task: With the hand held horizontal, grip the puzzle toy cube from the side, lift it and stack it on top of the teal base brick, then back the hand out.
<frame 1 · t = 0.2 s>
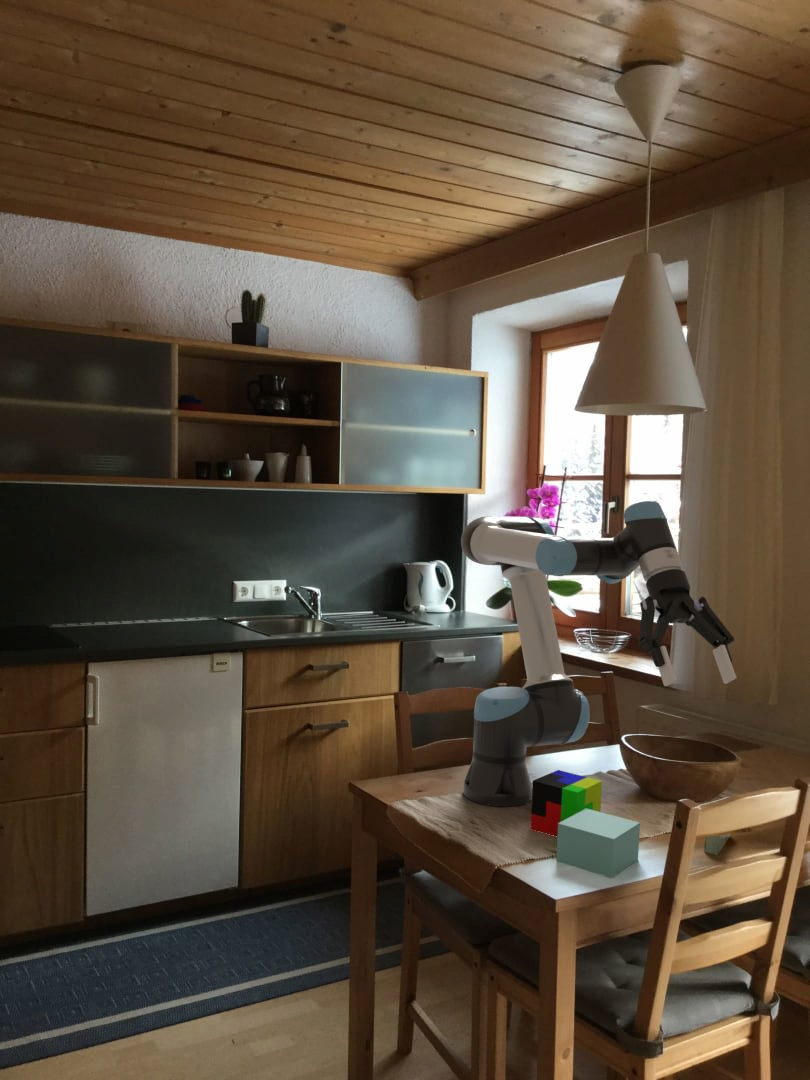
hand: (700, 682, 167), 34 cm above the table, tool tilted 35°, fingers open, 13 cm apart
puzzle toy: (565, 830, 187), on the table
medication box: (717, 846, 182), on the table
base brick: (597, 860, 172), on the table
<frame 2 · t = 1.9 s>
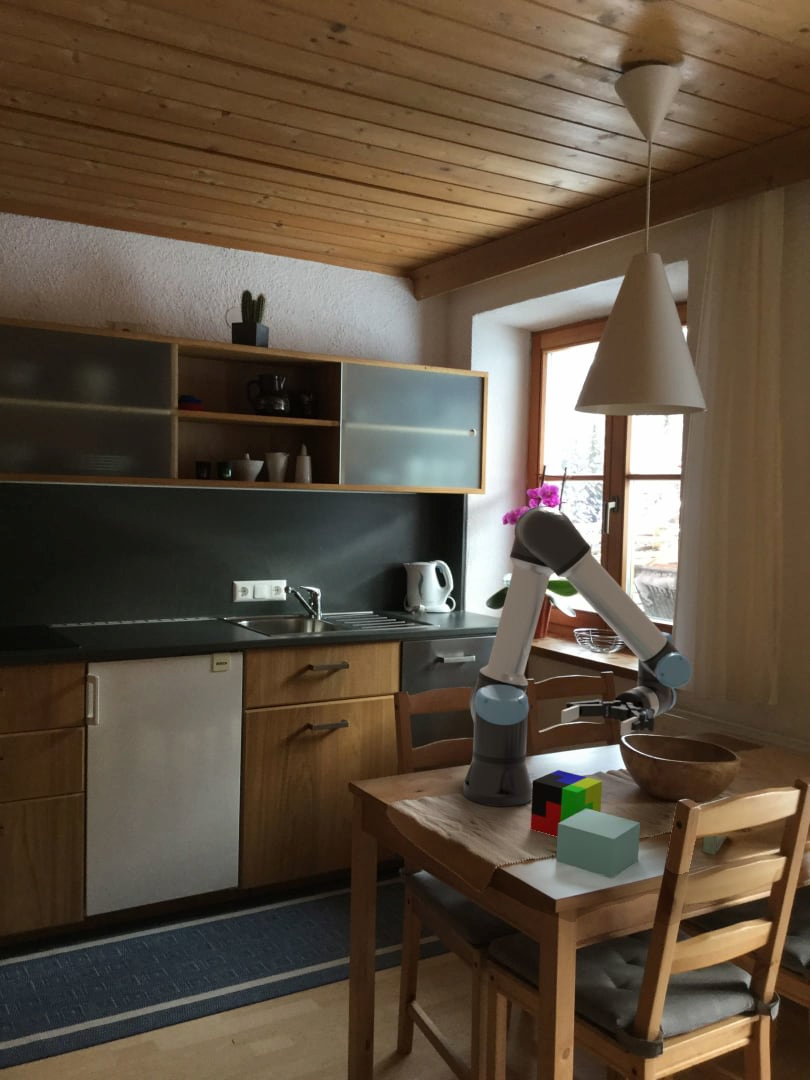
hand: (592, 723, 194), 20 cm above the table, tool horizontal, fingers open, 13 cm apart
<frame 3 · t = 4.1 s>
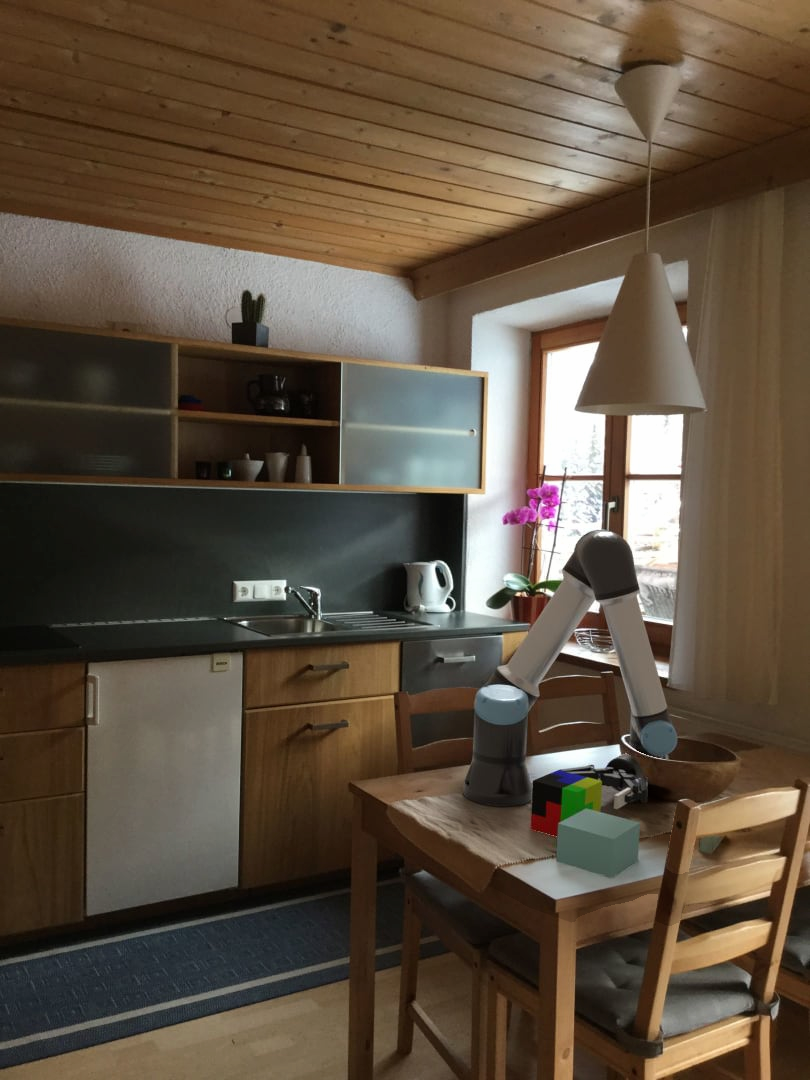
hand: (584, 794, 191), 6 cm above the table, tool horizontal, fingers open, 13 cm apart
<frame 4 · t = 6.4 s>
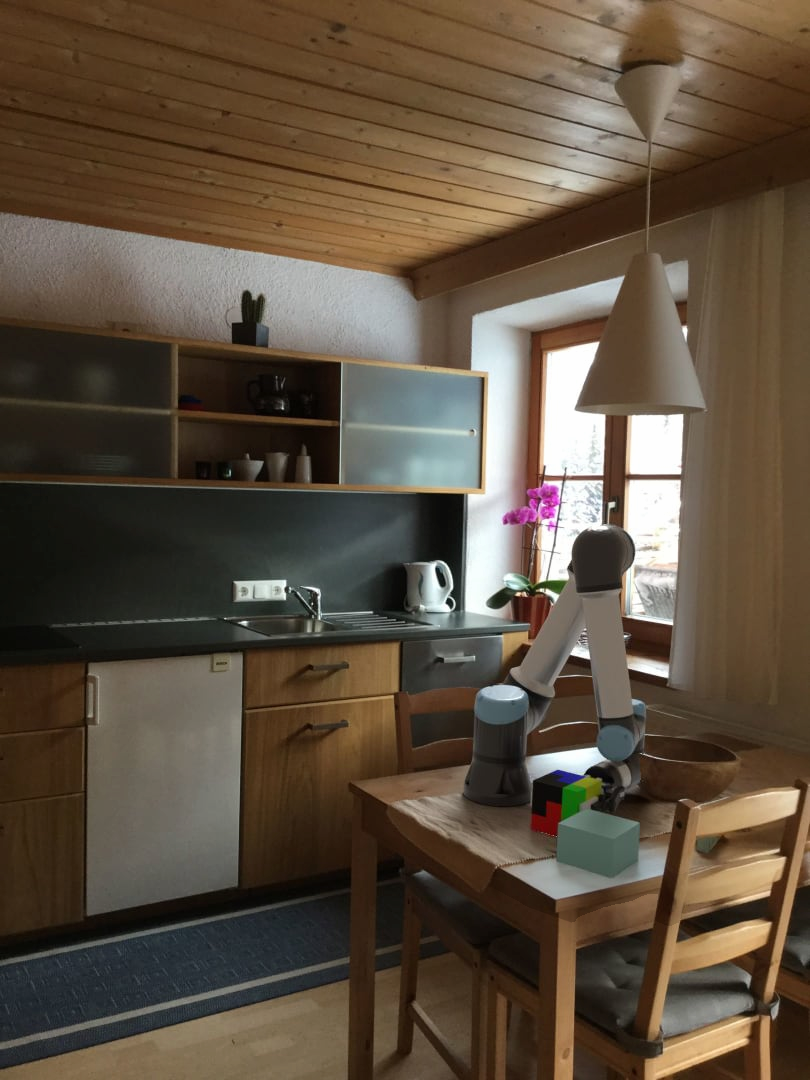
hand: (556, 805, 184), 6 cm above the table, tool horizontal, fingers closed on puzzle toy, 10 cm apart
puzzle toy: (565, 830, 187), on the table, touching gripper
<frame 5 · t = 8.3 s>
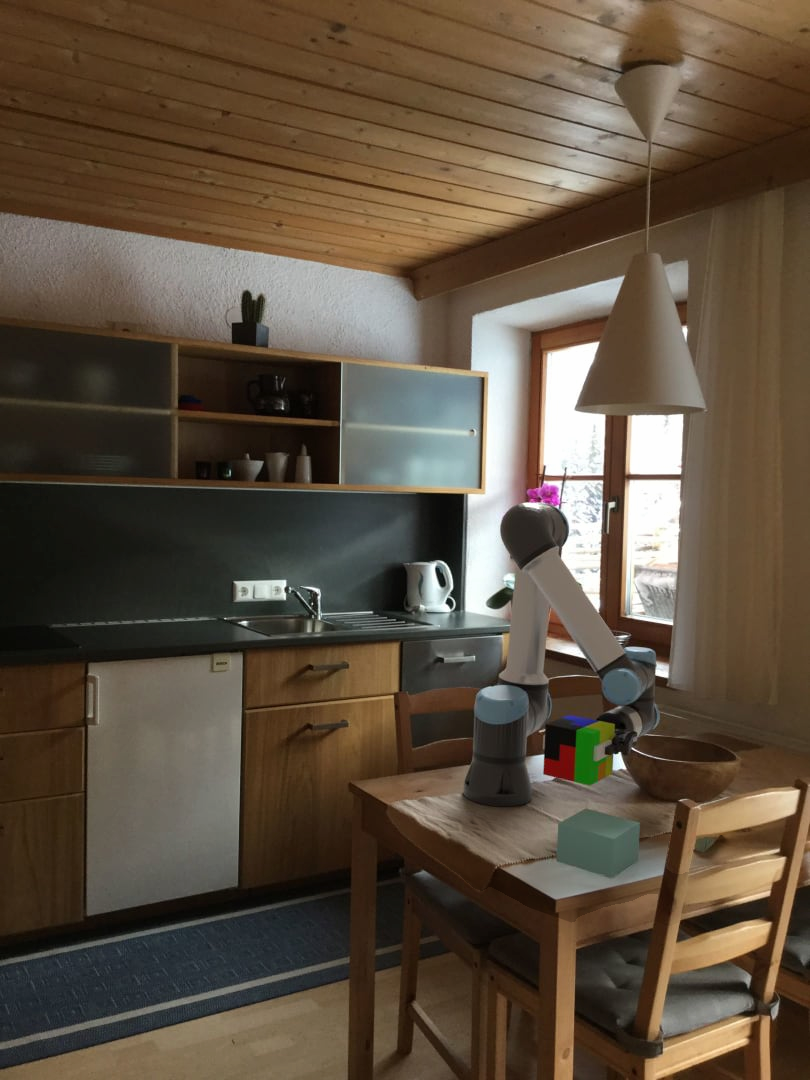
hand: (569, 748, 180), 18 cm above the table, tool horizontal, fingers closed on puzzle toy, 10 cm apart
puzzle toy: (578, 775, 184), point 12 cm above the table, touching gripper
when the fingers open (15 cm above the table, at t = 10.3 s): puzzle toy drops 2 cm, resting on base brick.
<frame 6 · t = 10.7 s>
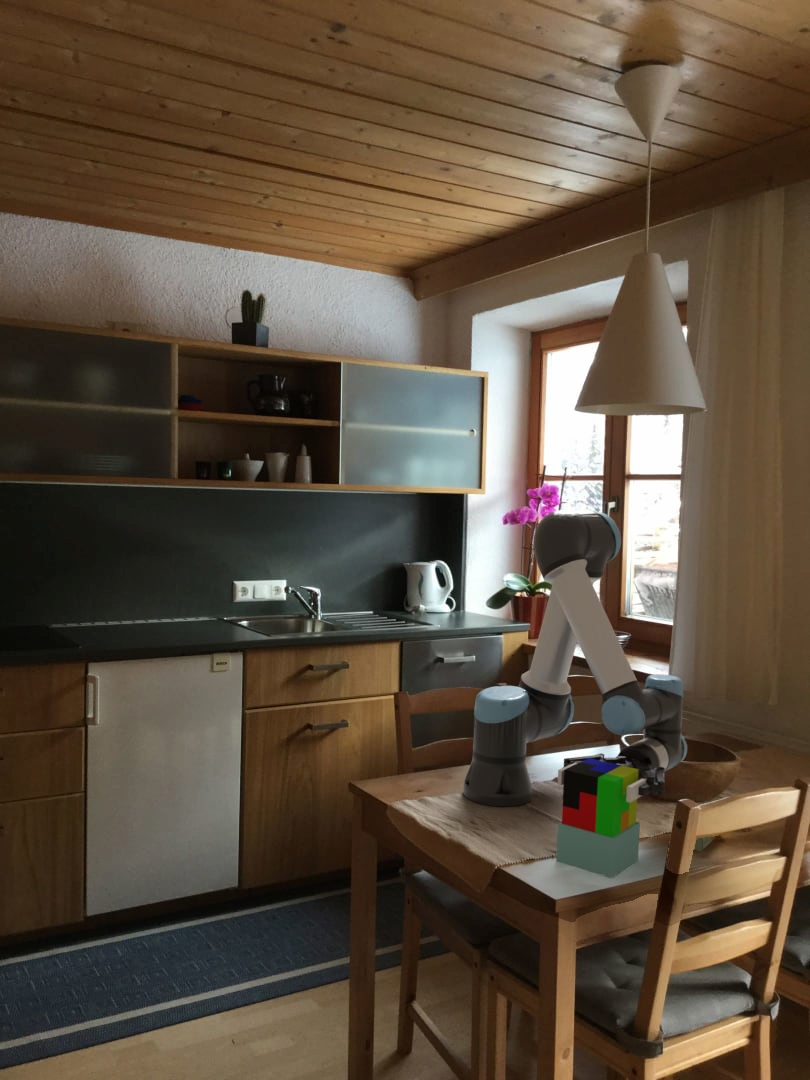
hand: (593, 785, 169), 15 cm above the table, tool horizontal, fingers open, 13 cm apart
puzzle toy: (598, 824, 172), point 7 cm above the table, touching base brick
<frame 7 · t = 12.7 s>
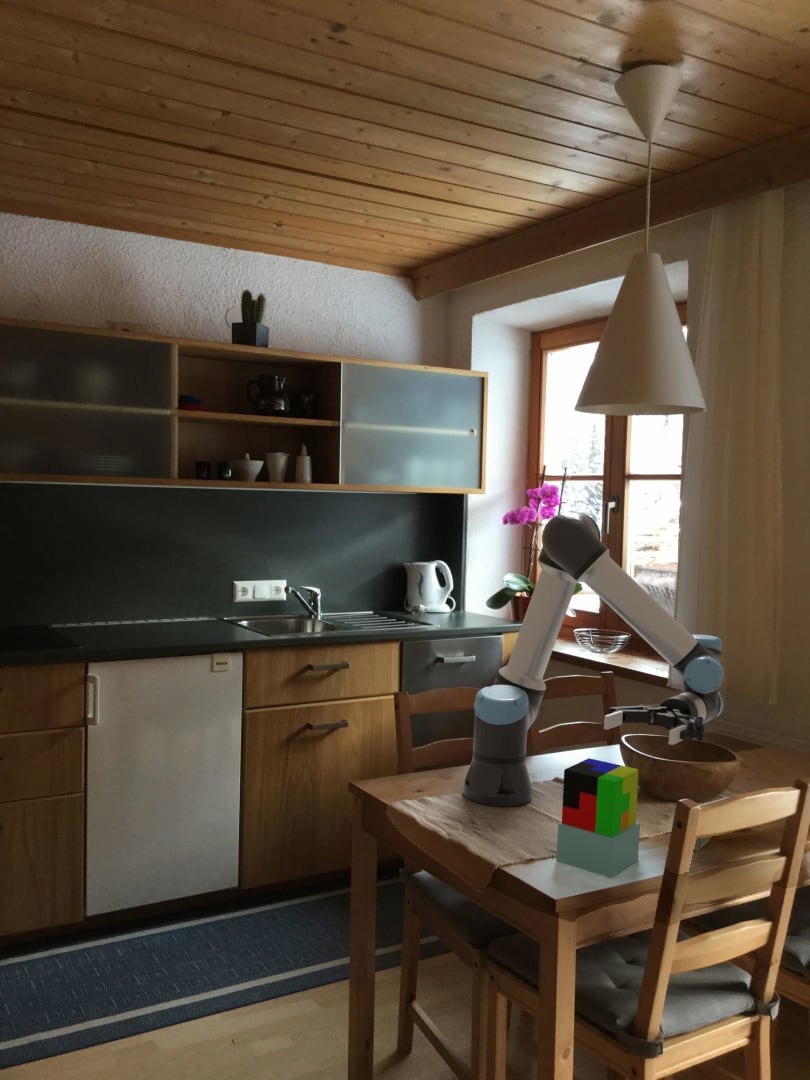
hand: (637, 730, 182), 22 cm above the table, tool horizontal, fingers open, 13 cm apart
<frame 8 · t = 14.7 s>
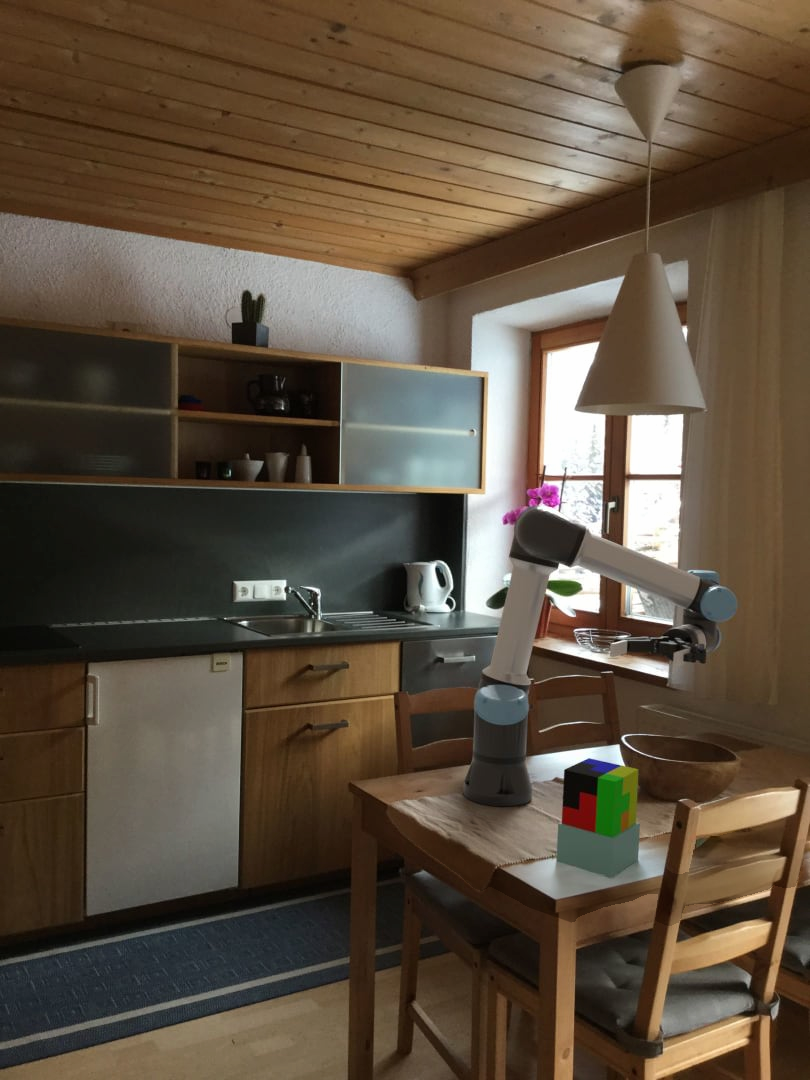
hand: (642, 654, 190), 35 cm above the table, tool horizontal, fingers open, 13 cm apart
at the end: puzzle toy inside the target area on the base brick (0.1 cm from its centre), point 6.8 cm above the base brick's base; puzzle toy tilted 0°; puzzle toy touching base brick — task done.
